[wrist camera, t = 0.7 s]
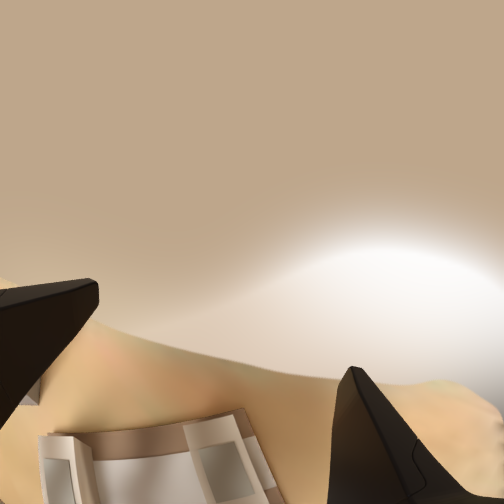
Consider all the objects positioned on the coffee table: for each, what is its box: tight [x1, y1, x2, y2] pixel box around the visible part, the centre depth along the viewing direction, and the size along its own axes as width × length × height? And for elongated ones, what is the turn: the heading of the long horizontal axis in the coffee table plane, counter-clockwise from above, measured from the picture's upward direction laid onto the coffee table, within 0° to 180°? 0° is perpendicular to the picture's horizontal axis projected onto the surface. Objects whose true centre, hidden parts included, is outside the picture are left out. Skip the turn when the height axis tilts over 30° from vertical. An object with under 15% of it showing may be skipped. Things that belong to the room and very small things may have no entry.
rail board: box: [38, 408, 285, 504], centre depth 13 cm, size 18×10×4 cm, turn 109°
